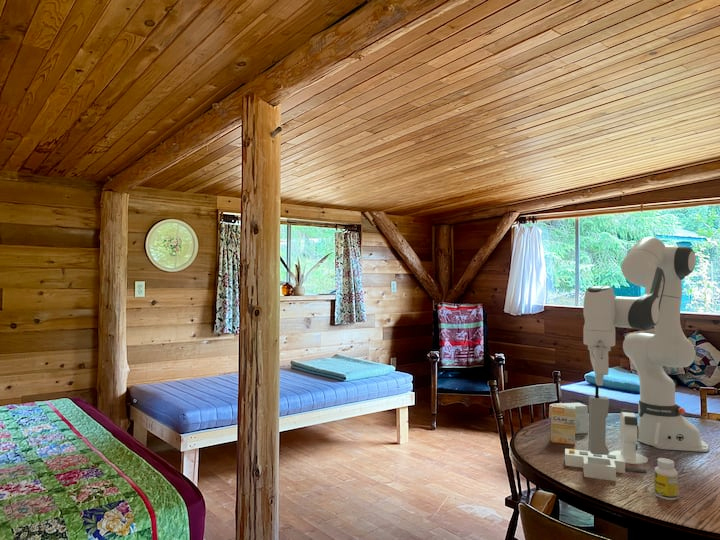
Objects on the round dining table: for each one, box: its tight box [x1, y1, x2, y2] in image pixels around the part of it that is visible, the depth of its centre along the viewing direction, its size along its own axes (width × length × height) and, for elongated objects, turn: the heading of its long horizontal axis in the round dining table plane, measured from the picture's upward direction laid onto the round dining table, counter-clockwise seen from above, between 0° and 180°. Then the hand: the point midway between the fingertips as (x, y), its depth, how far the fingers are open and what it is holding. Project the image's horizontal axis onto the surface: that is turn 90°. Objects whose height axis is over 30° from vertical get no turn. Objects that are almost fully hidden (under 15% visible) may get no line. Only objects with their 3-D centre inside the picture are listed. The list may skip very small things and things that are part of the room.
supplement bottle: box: [654, 457, 679, 501], centre depth 139 cm, size 5×5×10 cm
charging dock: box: [564, 448, 647, 482], centre depth 157 cm, size 23×14×4 cm, turn 68°
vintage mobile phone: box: [587, 383, 610, 455], centre depth 155 cm, size 4×5×25 cm
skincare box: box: [554, 402, 589, 435], centre depth 197 cm, size 10×6×10 cm, turn 98°
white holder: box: [609, 408, 649, 465], centre depth 169 cm, size 12×11×15 cm
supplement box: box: [550, 403, 576, 446], centre depth 184 cm, size 8×5×13 cm, turn 68°
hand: (599, 384), depth 155 cm, fingers closed on vintage mobile phone
